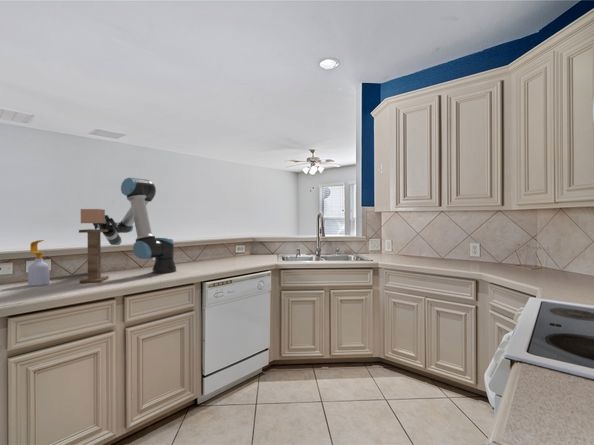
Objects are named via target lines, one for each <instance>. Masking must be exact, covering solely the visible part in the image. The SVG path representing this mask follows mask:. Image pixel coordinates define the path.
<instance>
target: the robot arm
mask: <svg viewBox="0 0 594 445" xmlns="http://www.w3.org/2000/svg"><path fill="white" fill-rule="evenodd" d="M156 190H157V189H156V186H155V184H154V182H152V180H149V179H145V178H144V179H142V178H136V177H126V178H124V180H123V181H122V182H121V186H120V191H121V194H123V195H124V196H126V200H127V201H128V202H130V207H129V209H128V211H127V212H126V214H125V215H124V216H123V218H122V220H121V221H120V222H115V220H114V218H112V217H110V216H109V215H108V216H106V215H107V214H105V223H92V225H93V226H94V229H108V232H101V233H102V235H103V236H104V238H106V240H107V241H108V243H109V244H110V246H112V245H118V246H119V245H121V244H122V241H123V240H122V238H121V236H120V235H119V234H121V233H122V234H127V233H131V232H132V231H133V228H134V227H135V231H136V235H137V237H136V238H135V242H134V243H133V247H132V251H133V254H134V255H135V256H136V257H137V258H138V259H140V260H145V259H146V260H148V259H155V260H154V264H153V266H152V271H151V272H152V273H155V274H169V273H174V272H177V266H176V263H175V261H174V260H175V259H174V240H173V238H168V237H156V236H155V235H154V234H153V233H152V229H151V228H152V227H151V224H150V220H149V215H148V210H147V209H148V208H147V205H148V204H149V202H152V201H153V200H154V198H155V196H156V192H157V191H156Z"/></svg>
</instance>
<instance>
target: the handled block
mask: <svg viewBox="0 0 594 445" xmlns="http://www.w3.org/2000/svg"><path fill="white" fill-rule="evenodd" d="M105 215H106V216H108V217H109V215H108V214H106V210H105V209H101V208H80V224H93V223H105Z"/></svg>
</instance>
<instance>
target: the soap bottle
mask: <svg viewBox="0 0 594 445" xmlns="http://www.w3.org/2000/svg"><path fill="white" fill-rule="evenodd" d="M44 241H45V240H44V239H39V240H36V241H32V242H31V243H30V253H31V254H35V256H36V257H35V258H34V262H32V263H31V264H29V265H28V268H27V276H28V278H27V283H28V285H27V286H30V287H41V286H47V285H49V284H50V265H49V264H48V263H47V262H44V260H43V257H42V255H43V254H45V253H46V252H45V251H38V244H39V243H41V242H44Z"/></svg>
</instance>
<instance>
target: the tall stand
mask: <svg viewBox="0 0 594 445" xmlns="http://www.w3.org/2000/svg"><path fill="white" fill-rule="evenodd" d="M102 232H108V229H99V228H97V229H95V228H93V229H92V228H91V229H90V228H88V229H78V234H79V233H80V234H83V233H85V234H86V233H87V277H85V278H82V279H80V280H79V281H78V282H79V284H95V283H96V284H97V283H98V284H99V283H103V282H105V281H107V280H109V276H105V275H103V276H102V275H101V274H102V273H101V271H102V270H101V269H102V268H101V266H102V265H101V262H102V261H101V257H102V256H101V254H102V253H101V252H102V251H101V244H102V243H101V241H102V240H101V233H102Z"/></svg>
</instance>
